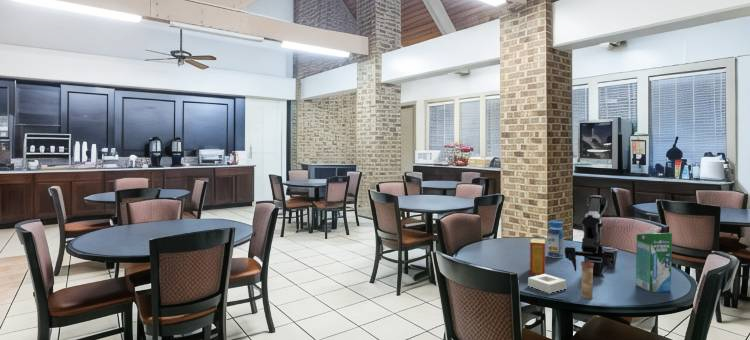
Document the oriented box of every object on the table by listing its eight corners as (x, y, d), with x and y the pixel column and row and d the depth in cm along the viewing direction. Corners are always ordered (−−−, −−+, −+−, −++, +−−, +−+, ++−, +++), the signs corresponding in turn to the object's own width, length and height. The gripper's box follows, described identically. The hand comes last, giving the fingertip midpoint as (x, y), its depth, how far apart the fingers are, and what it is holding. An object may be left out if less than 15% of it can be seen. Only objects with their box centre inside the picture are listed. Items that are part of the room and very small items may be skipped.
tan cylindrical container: (590, 295, 168) (590, 261, 167) (595, 299, 164) (595, 264, 163) (578, 295, 168) (579, 261, 168) (583, 299, 164) (584, 264, 163)
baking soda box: (531, 268, 206) (531, 237, 205) (545, 270, 203) (545, 238, 202) (530, 274, 197) (530, 241, 196) (544, 275, 195) (544, 242, 194)
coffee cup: (620, 269, 203) (621, 249, 202) (603, 268, 204) (603, 249, 204) (614, 265, 211) (614, 246, 210) (597, 264, 212) (597, 245, 212)
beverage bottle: (566, 258, 224) (566, 222, 223) (551, 258, 224) (551, 222, 223) (559, 254, 232) (560, 220, 231) (545, 254, 233) (545, 220, 232)
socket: (544, 282, 185) (544, 273, 185) (566, 289, 175) (566, 280, 175) (528, 286, 180) (528, 277, 179) (549, 294, 170) (549, 284, 170)
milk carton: (655, 284, 180) (656, 228, 179) (671, 291, 171) (672, 232, 170) (635, 285, 180) (636, 229, 179) (650, 292, 171) (651, 233, 170)
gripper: (565, 228, 176) (561, 259, 167) (615, 232, 166) (613, 265, 157) (567, 242, 183) (563, 273, 174) (615, 247, 173) (614, 280, 164)
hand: (587, 272), depth 167 cm, fingers open, 9 cm apart
